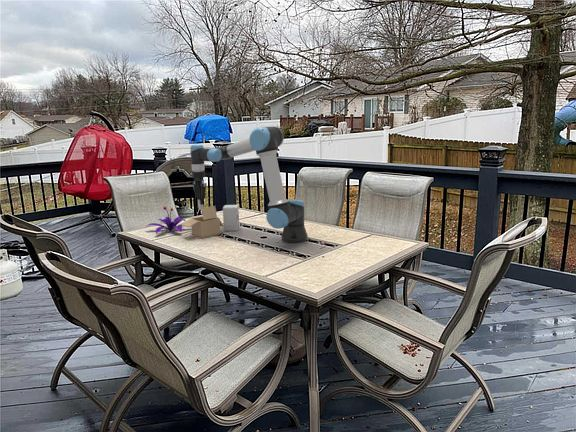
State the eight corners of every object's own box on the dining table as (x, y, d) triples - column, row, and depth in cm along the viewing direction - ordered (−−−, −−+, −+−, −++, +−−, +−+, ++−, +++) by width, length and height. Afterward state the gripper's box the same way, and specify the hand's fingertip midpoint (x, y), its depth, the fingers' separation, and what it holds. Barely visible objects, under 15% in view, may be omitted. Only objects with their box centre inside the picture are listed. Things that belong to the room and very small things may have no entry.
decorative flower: (184, 222, 288) (182, 200, 284) (201, 232, 262) (200, 208, 259) (142, 229, 273) (140, 206, 269) (156, 239, 247) (154, 215, 244)
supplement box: (237, 231, 263) (236, 207, 260) (223, 231, 263) (222, 207, 260) (239, 227, 272) (238, 204, 268) (226, 227, 272) (224, 204, 269)
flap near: (217, 217, 252) (215, 205, 252) (203, 219, 247) (201, 208, 246) (216, 217, 253) (214, 205, 252) (203, 219, 247) (201, 208, 247)
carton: (226, 233, 259) (225, 217, 256) (202, 238, 248) (201, 222, 246) (211, 228, 271) (210, 212, 269) (188, 233, 260) (187, 217, 258)
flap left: (198, 220, 247) (188, 226, 243) (198, 221, 247) (189, 227, 243) (191, 218, 253) (181, 224, 250) (191, 219, 254) (181, 224, 250)
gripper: (209, 171, 248) (212, 210, 254) (198, 169, 258) (201, 207, 264) (198, 172, 244) (201, 212, 249) (187, 170, 253) (190, 209, 259)
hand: (201, 209), depth 256 cm, fingers closed
